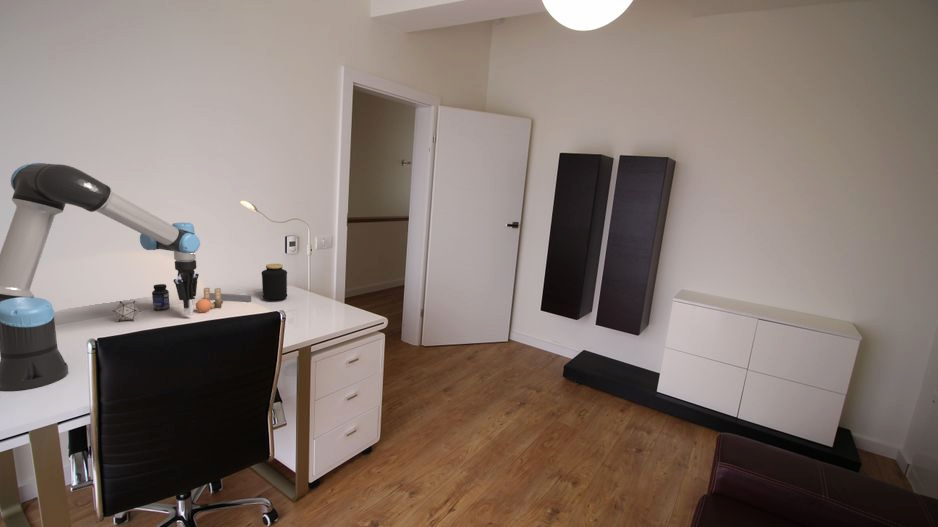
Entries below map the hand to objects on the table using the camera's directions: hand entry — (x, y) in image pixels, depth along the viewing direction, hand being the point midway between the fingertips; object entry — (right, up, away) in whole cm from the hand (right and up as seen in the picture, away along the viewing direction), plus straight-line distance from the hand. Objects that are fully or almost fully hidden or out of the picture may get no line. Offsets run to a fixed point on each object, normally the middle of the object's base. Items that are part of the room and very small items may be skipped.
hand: (188, 314), depth 185 cm
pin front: (0, +2, +15) cm, 15 cm away
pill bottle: (-19, +1, +11) cm, 22 cm away
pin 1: (-2, +1, +17) cm, 18 cm away
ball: (0, +3, +10) cm, 10 cm away
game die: (-22, -2, -6) cm, 22 cm away
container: (+21, +3, +36) cm, 41 cm away
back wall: (0, +4, +30) cm, 30 cm away
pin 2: (+3, +1, +17) cm, 18 cm away
